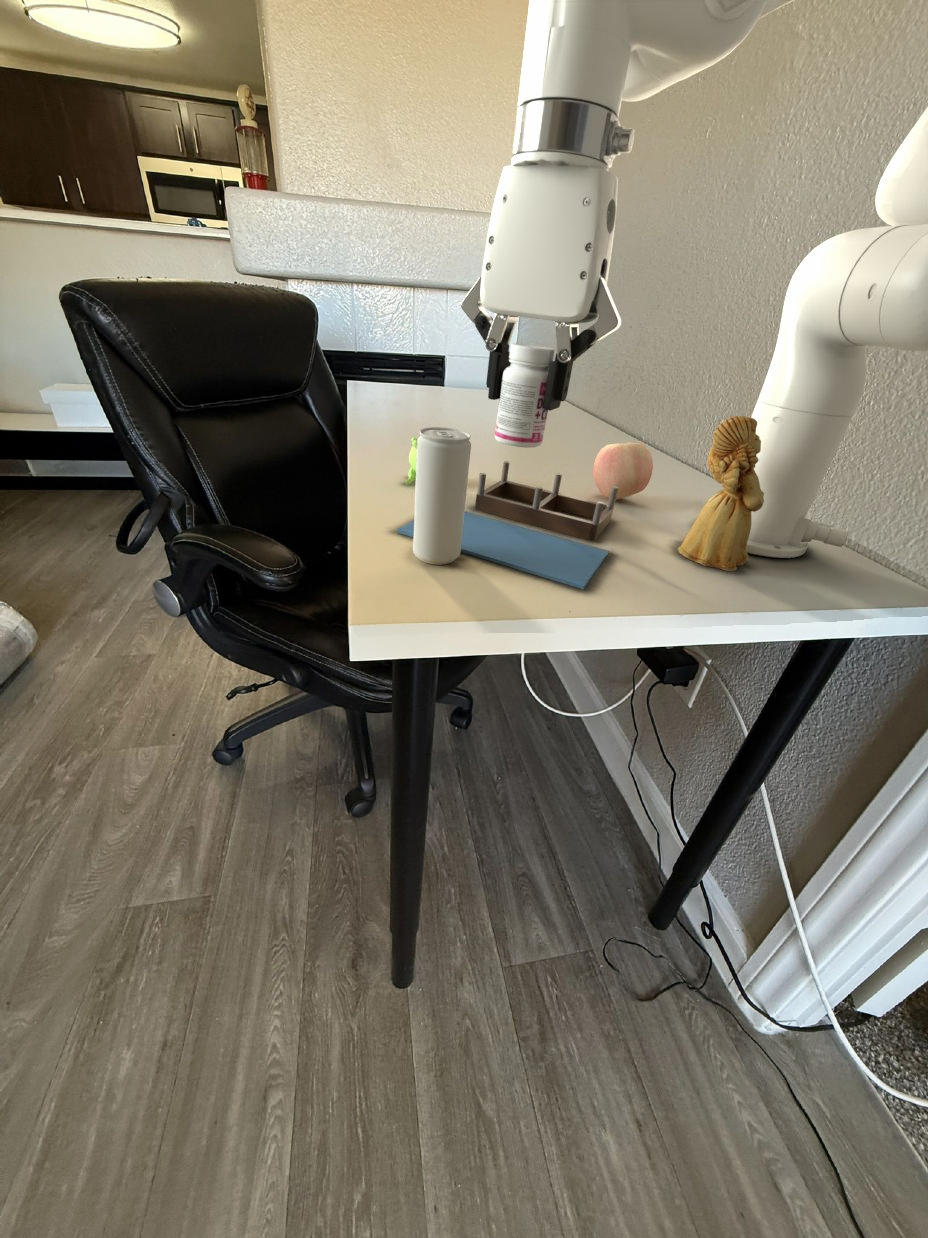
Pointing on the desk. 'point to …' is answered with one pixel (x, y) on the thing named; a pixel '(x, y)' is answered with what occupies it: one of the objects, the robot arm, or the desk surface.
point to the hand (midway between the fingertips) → (524, 400)
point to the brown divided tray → (545, 506)
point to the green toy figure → (412, 461)
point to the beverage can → (440, 493)
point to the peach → (622, 469)
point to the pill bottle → (523, 396)
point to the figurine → (728, 498)
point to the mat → (527, 550)
